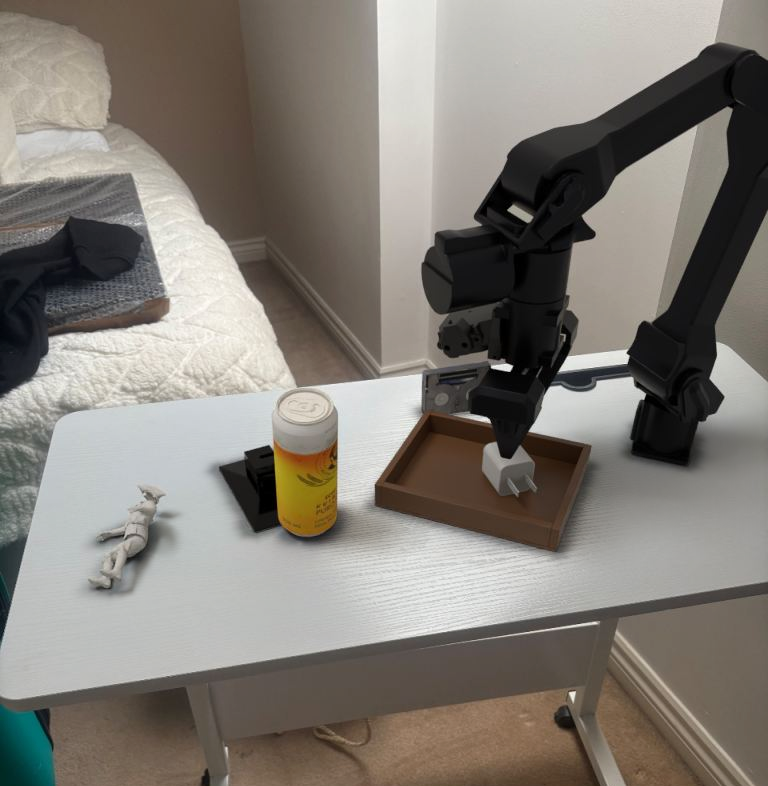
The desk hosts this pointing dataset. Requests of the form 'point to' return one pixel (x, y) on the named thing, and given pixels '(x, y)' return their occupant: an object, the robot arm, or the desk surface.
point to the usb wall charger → (508, 470)
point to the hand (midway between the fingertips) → (518, 433)
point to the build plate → (254, 487)
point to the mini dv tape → (449, 387)
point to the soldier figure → (129, 536)
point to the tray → (482, 481)
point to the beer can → (306, 460)
